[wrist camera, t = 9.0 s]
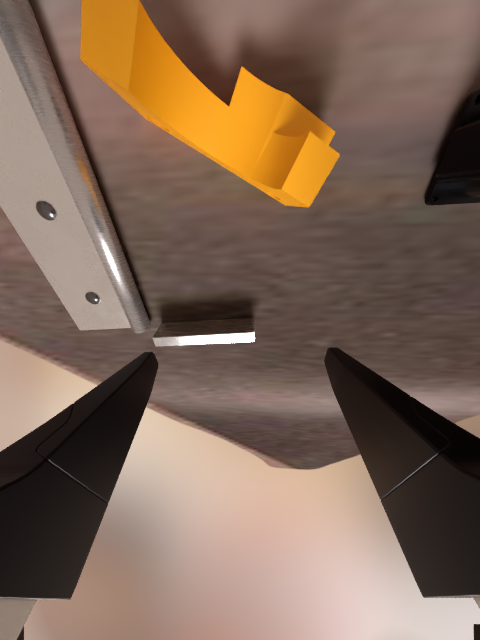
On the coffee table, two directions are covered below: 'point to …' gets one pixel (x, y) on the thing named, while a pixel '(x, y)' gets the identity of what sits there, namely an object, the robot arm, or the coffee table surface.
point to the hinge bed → (70, 197)
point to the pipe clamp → (208, 106)
